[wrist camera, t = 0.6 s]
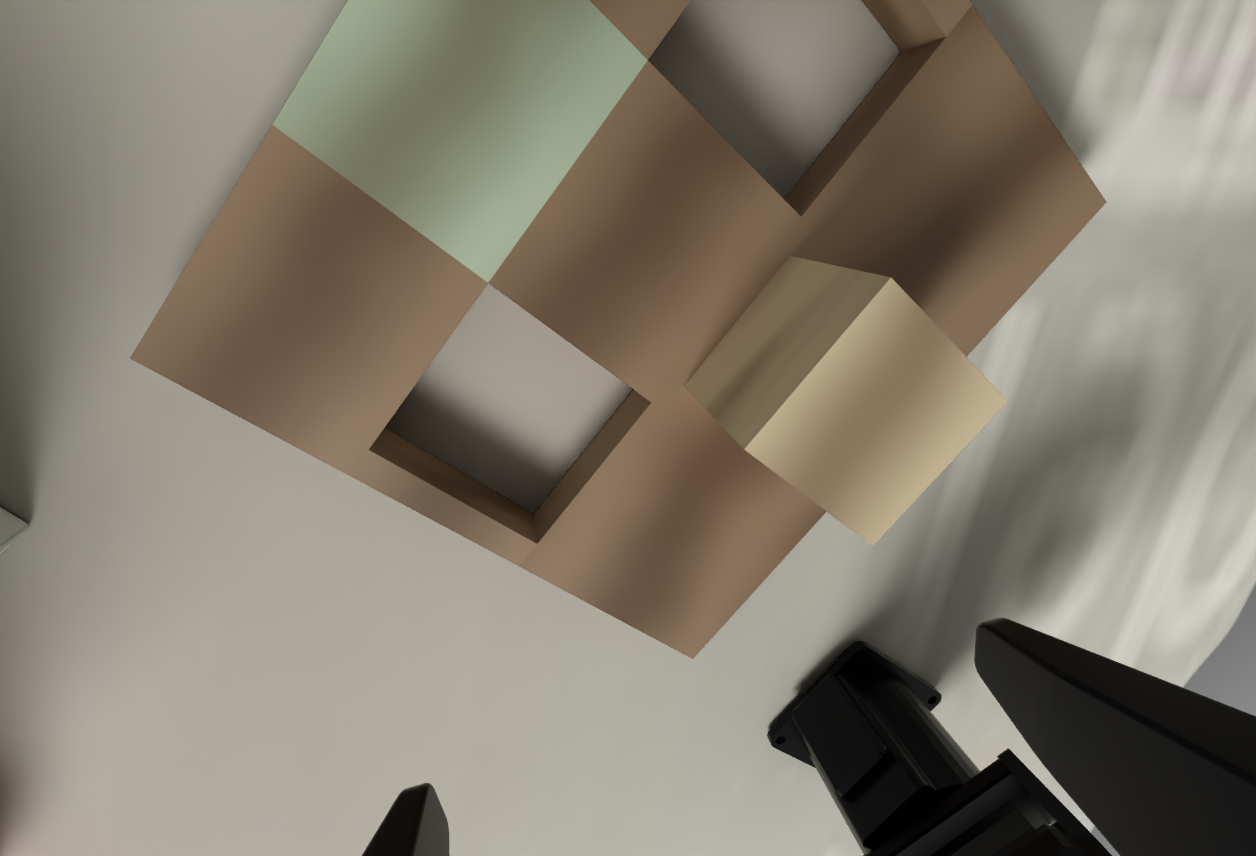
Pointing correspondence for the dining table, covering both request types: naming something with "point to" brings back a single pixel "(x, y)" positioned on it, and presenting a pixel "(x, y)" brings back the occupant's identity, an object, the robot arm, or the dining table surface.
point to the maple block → (845, 391)
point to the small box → (10, 529)
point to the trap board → (594, 263)
